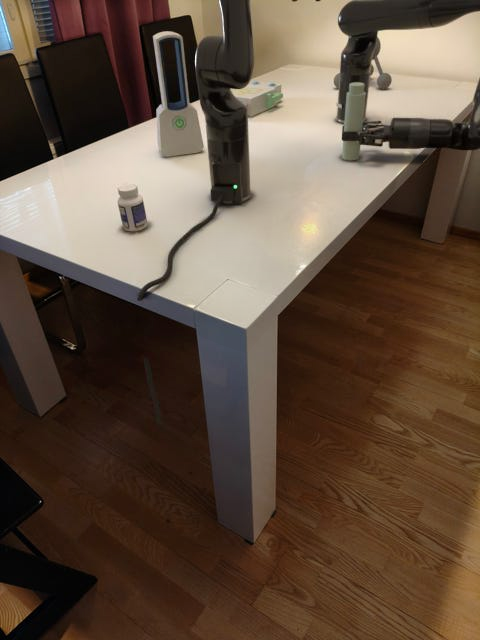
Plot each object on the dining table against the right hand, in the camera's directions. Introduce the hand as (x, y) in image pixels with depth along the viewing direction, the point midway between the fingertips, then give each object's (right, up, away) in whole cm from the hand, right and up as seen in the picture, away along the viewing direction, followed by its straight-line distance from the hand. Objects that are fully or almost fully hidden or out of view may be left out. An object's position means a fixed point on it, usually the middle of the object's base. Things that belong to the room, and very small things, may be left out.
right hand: (342, 133), depth 128 cm
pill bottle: (-50, -29, -23) cm, 62 cm away
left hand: (-11, +25, -15) cm, 31 cm away
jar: (+3, -5, +4) cm, 7 cm away
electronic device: (-44, 0, +14) cm, 47 cm away
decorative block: (-24, +27, +47) cm, 59 cm away
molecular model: (+20, +44, +65) cm, 81 cm away
